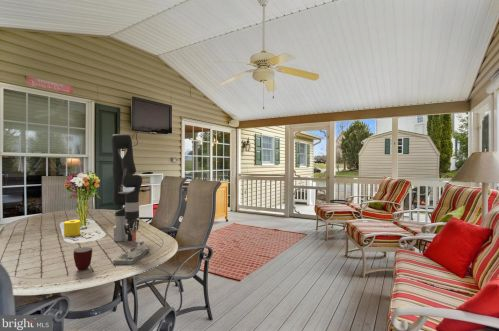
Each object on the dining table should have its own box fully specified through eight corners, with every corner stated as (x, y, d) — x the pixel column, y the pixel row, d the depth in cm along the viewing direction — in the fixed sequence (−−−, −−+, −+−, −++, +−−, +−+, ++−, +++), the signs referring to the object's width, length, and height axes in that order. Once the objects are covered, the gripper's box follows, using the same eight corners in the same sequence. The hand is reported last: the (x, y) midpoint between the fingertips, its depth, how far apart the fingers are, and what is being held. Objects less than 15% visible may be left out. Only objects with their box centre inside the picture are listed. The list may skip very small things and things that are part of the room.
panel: (113, 264, 146) (113, 258, 146) (132, 250, 169) (132, 245, 168) (131, 264, 146) (131, 259, 146) (148, 250, 168) (148, 246, 168)
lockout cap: (126, 241, 155) (126, 231, 155) (129, 239, 159) (129, 229, 159) (133, 241, 155) (134, 231, 155) (137, 239, 159) (137, 229, 159)
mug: (68, 268, 140) (68, 249, 140) (85, 264, 146) (85, 245, 146) (77, 274, 134) (77, 253, 133) (95, 268, 140) (95, 249, 140)
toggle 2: (137, 250, 162) (137, 242, 162) (139, 248, 165) (139, 241, 165) (143, 250, 162) (143, 243, 162) (146, 248, 165) (146, 241, 165)
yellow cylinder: (83, 232, 207) (83, 220, 207) (73, 236, 197) (73, 223, 197) (70, 232, 208) (70, 219, 208) (60, 236, 198) (60, 222, 198)
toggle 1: (127, 257, 150) (127, 249, 150) (130, 255, 153) (130, 247, 153) (134, 258, 150) (135, 249, 150) (137, 255, 153) (137, 247, 153)
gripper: (132, 212, 150) (132, 243, 150) (143, 208, 164) (143, 236, 164) (119, 212, 150) (119, 243, 150) (131, 207, 164) (131, 236, 164)
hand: (131, 239), depth 157 cm, fingers closed on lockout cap, 4 cm apart
